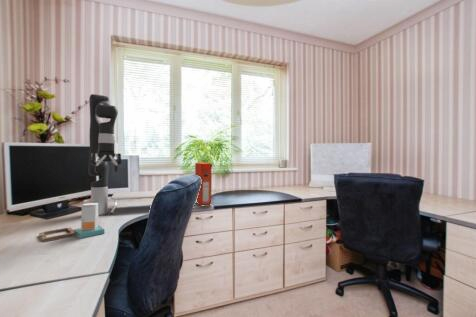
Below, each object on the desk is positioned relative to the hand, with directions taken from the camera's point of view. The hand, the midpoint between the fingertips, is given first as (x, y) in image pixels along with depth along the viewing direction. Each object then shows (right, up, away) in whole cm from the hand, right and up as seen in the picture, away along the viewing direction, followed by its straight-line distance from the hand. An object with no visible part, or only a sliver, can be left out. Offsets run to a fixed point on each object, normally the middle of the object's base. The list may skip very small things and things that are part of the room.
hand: (106, 172), depth 124 cm
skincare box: (-1, -26, -13) cm, 29 cm away
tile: (-1, -28, -13) cm, 31 cm away
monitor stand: (+2, -28, +42) cm, 50 cm away
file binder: (+43, -28, +59) cm, 78 cm away
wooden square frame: (-13, -28, -16) cm, 35 cm away
